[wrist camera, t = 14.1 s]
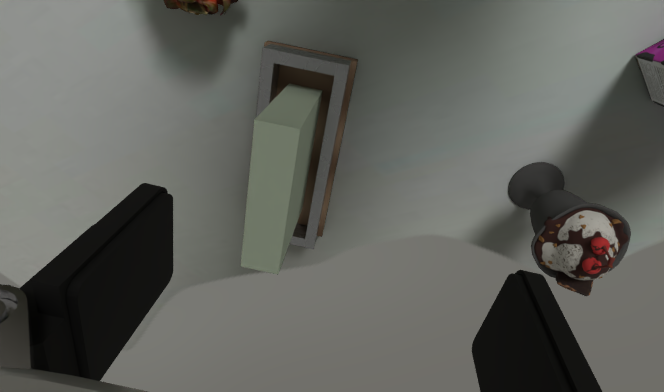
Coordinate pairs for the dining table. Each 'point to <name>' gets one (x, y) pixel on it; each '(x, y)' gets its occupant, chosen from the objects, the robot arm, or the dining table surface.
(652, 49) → the candy bar box
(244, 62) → the dining table surface
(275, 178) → the pale green rectangular block
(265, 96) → the open rectangular box
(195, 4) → the dragon fruit
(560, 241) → the sundae
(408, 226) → the dining table surface
